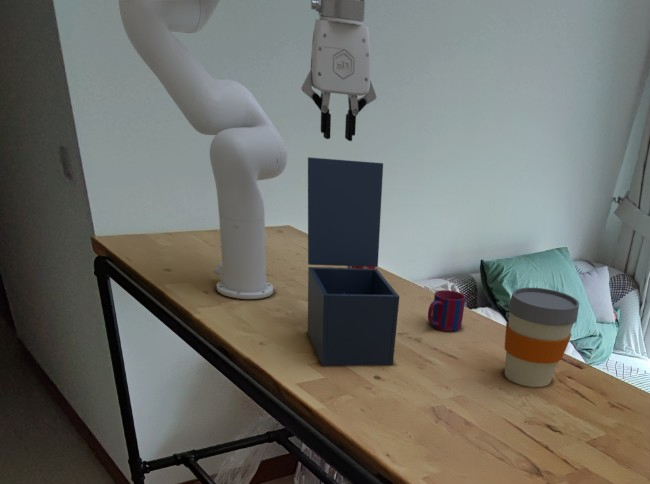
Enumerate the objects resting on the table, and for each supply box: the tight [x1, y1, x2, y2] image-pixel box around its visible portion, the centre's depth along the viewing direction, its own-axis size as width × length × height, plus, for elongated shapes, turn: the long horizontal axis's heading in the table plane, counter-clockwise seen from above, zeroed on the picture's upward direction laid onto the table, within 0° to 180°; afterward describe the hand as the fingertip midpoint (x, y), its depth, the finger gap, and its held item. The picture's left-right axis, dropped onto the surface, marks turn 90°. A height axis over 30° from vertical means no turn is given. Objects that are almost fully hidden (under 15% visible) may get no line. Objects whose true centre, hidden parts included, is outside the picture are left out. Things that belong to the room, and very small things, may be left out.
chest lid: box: [307, 157, 384, 268], centre depth 120 cm, size 18×14×1 cm
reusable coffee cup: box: [504, 287, 580, 388], centre depth 120 cm, size 13×12×15 cm
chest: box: [307, 266, 400, 367], centre depth 123 cm, size 17×14×13 cm
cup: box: [427, 289, 467, 333], centre depth 139 cm, size 7×10×7 cm
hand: (337, 137), depth 120 cm, fingers open, 3 cm apart
